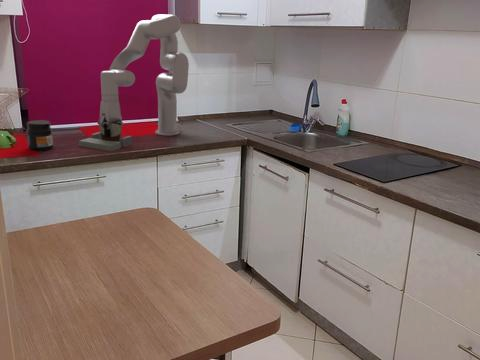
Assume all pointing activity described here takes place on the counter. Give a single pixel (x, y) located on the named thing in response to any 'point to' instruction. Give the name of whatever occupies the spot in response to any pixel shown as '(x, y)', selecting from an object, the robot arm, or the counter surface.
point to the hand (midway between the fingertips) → (111, 135)
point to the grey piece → (105, 142)
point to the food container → (112, 131)
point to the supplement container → (39, 135)
